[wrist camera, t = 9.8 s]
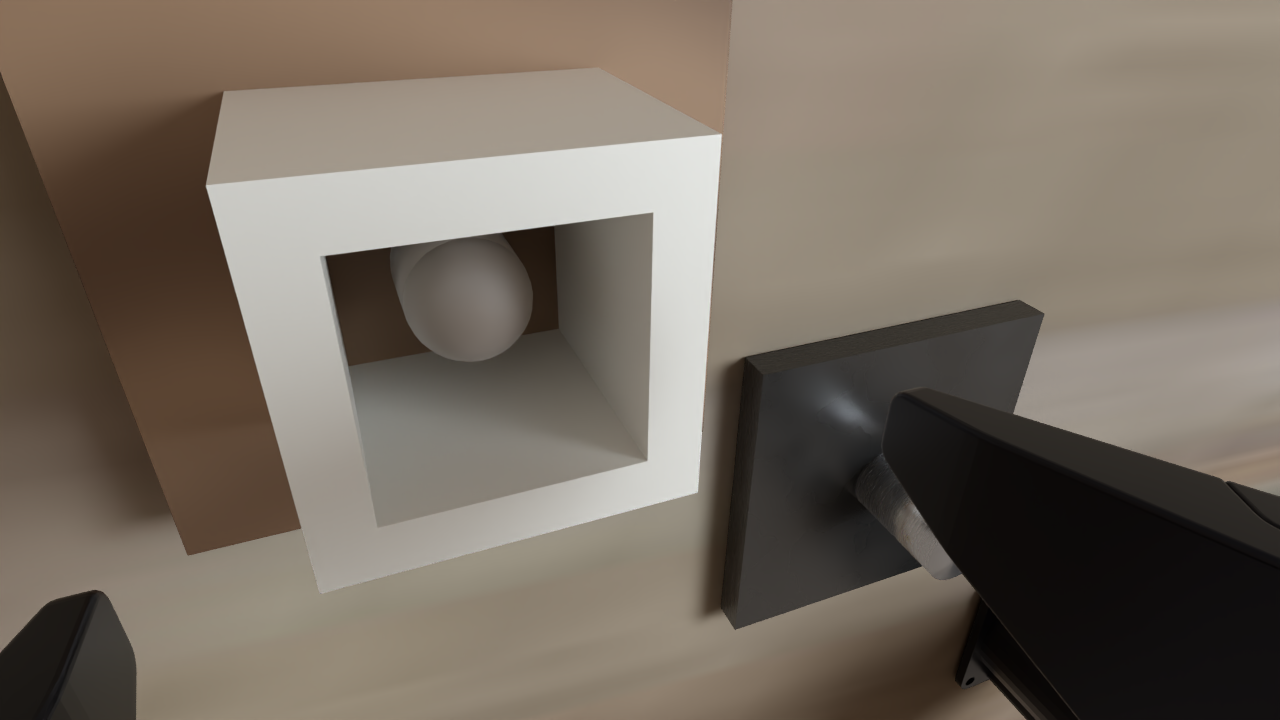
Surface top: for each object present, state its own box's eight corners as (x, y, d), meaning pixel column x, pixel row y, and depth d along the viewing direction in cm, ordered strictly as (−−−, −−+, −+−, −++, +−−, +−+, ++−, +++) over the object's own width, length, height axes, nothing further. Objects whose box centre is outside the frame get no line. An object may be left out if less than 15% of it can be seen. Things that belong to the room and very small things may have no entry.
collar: (602, 359, 18) (697, 492, 14) (305, 417, 16) (320, 593, 12) (598, 67, 15) (722, 133, 11) (223, 91, 13) (205, 185, 9)
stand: (951, 532, 30) (1043, 618, 27) (721, 607, 27) (791, 718, 23) (1019, 300, 25) (1145, 369, 21) (745, 357, 22) (840, 449, 18)
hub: (678, 402, 22) (769, 514, 18) (193, 510, 18) (172, 687, 14) (702, -105, 15) (850, -102, 12) (-39, -117, 11) (-193, -118, 7)
